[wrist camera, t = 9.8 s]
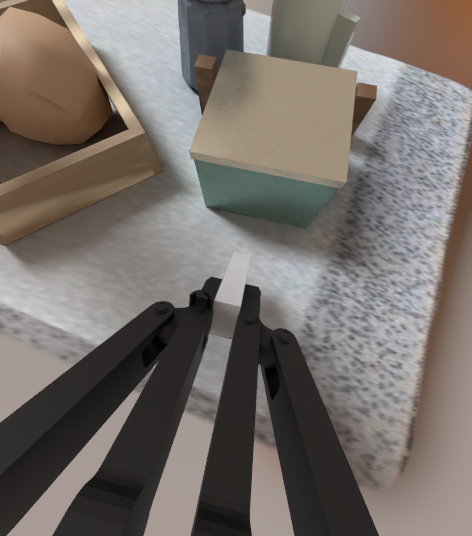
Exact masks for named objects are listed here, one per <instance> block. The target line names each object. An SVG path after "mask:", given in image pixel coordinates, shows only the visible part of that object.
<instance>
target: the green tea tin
mask: <svg viewBox="0 0 472 536" xmlns="http://www.w3.org/2000/svg"><path fill="white" fill-rule="evenodd" d="M356 80H357V71H353V70H347V69H341V68H335V67H329V66H323V65H317V64H311V63H305V62H299V61H293V60H287V59H281V58H276V57H270V56H264V55H258V54H252V53H246V52H240V51H234V50H228V49H227V50H226V52H225V55H224V58H223V61H222V63H221V66H220V69H219V72H218V74H217V77H216V80H215V82H214V85H213V88H212V91H211V93H210V96H209V99H208V102H207V104H206V107H205V110H204V112H203V115H202V118H201V121H200V123H199V126H198V129H197V132H196V134H195V137H194V140H193V142H192V145H191V148H190V151H189V152H190V156H191V159H194V162H195V165H196V169H197V173H198V177H199V181H200V185H201V189H202V193H203V197H204V201H205V205H206V207H209V208H213V209H218V210H223V211H228V212H232V213H237V214H242V215H246V216H251V217H256V218H260V219H265V220H270V221H275V222H279V223H284V224H289V225H293V226H298V227H303V228H307V227H308V225H309V224H310V223H311V222H312V221H313V219H314V218H315V217H316V216H317V214H318V213H319V212H320V211H321V209H322V208H323V207H324V206H325V204H326V203H327V202H328V201H329V200H330V198H331V197H332V196H333V195H334V193H335V192H336V191H337V190H338V188H340V189H342V188H343V186H344V185H345V184H346V183H347V174H348V163H349V153H350V142H351V132H352V122H353V111H354V101H355V90H356Z"/></svg>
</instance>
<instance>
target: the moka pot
mask: <svg viewBox="0 0 472 536" xmlns="http://www.w3.org/2000/svg"><path fill="white" fill-rule="evenodd" d="M245 12H246V6H245V4H244V3H243V0H178V17H179V28H180V45H181V62H182V75H183V77H184V79H185V81H186V82H187V83H188V85H190V86H191V87H192V88H193V89H195V90H196V91H198V87H197V81H196V74H195V68H194V65H195V63H196V61H197V58H198V56H199V54H201V55H206V56H212V57H216V60H217V74H218V72H219V69H220V66H221V63H222V61H223V58H224V55H225V52H226V50H227V49H228V50H234V51H240V52H244V48H243V16H244V15H245Z"/></svg>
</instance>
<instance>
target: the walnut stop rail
mask: <svg viewBox="0 0 472 536" xmlns="http://www.w3.org/2000/svg"><path fill="white" fill-rule="evenodd" d="M194 68H195V74H196V81H197V87H198V93H199V99H200V106H201V112H202V115H203V112H204V110H205V107H206V104H207V102H208V99H209V96H210V93H211V91H212V88H213V85H214V82H215V80H216V77H217V60H216V57H212V56H206V55H201V54H199V56H198V58H197V61H196V63H195V65H194ZM376 92H377V86H374V85H369V84H363V83H358V84H357V86H356V90H355V101H354V111H353V122H352V132H351V137H352V135H353V134H354V132H355V131H356V129H357V128H358V126H359V125H360V123H361V122H362V120H363V118H364V117H365V115H366V114H367V112H368V111H369V109H370V108H371V106H372V105H373V103H374V102H375V100H376Z"/></svg>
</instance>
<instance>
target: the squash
mask: <svg viewBox="0 0 472 536" xmlns="http://www.w3.org/2000/svg"><path fill="white" fill-rule="evenodd" d="M112 113H113V111H112V108H111V104H110V101H109V98H108V95H107V93H106V91H105V89H104V87H103V85H102V83H101V82H100V80H99V78H98V76H97V74H96V70H95V66H94V64H93V63H92V62H91V60H90V59H89V58H88V56H87V55H86V53H85V52H84V51H83V49H82V48H81V47H80V45H79V44H78V42H77V41H76V40H75V38H74V37H73V36H72V34H71V33H70V32H69V30H68V29H66V28H65V27H63V26H61V25H59V24H57V23H55V22H53V21H51V20H49V19H47V18H45V17H43V16H41V15H39V14H36V13H32V12H28V11H24V10H20V9H17V8H13V7H9V8H8V9H7V10H6V11H5V12H4V13H3V14H2V15H1V16H0V122H4V124H5V125H6V126H7V127H8V129H9V130H10V131H11V132H14V133H16V134H19V135H21V136H24V137H26V138H29V139H31V140H36V141H41V142H46V143H50V144H55V145H70V144H83V143H84V142H85V141H86V140H88V139H89V138H90V137H91V136H93V135H94V134H95V133H96V132H98V131H99V130H100V129H101V128H102V127H103V125H104V124H105V123H106V121H107V120H108V119H109V117H110V116H111V115H112Z"/></svg>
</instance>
